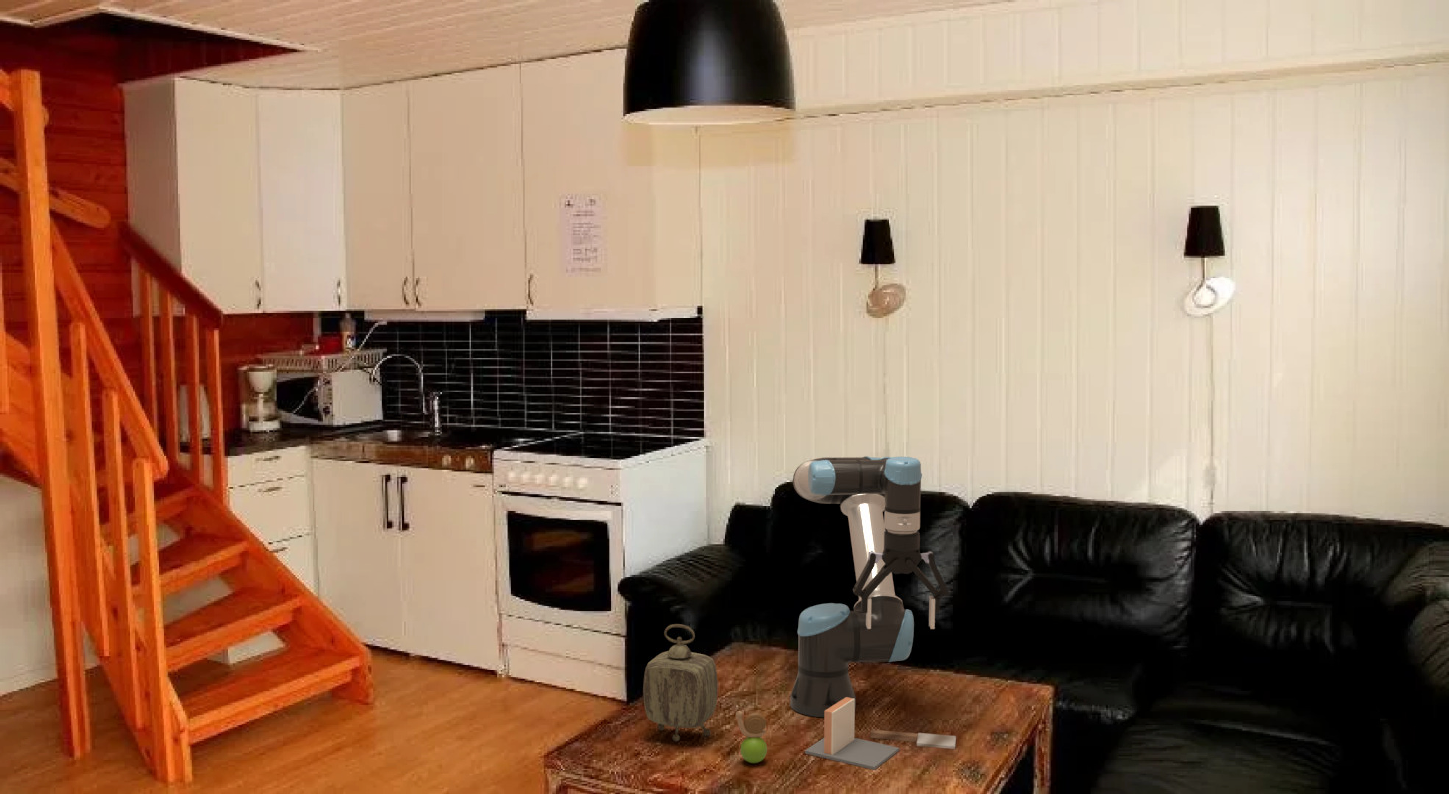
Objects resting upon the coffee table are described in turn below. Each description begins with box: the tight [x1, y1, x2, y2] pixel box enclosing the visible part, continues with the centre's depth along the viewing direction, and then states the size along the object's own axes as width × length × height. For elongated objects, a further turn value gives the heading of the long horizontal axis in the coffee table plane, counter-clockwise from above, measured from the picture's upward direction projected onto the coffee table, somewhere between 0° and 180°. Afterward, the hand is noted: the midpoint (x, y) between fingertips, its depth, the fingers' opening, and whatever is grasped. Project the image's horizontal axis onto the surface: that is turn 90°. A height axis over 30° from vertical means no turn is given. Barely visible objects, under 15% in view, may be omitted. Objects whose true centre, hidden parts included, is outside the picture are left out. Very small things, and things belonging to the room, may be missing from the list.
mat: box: [804, 737, 900, 771], centre depth 252 cm, size 16×12×1 cm
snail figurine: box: [735, 704, 768, 764], centre depth 246 cm, size 5×6×12 cm
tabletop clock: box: [642, 623, 719, 743], centre depth 259 cm, size 14×9×25 cm, turn 71°
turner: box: [869, 729, 957, 750], centre depth 259 cm, size 18×6×1 cm, turn 77°
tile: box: [823, 697, 856, 755], centre depth 253 cm, size 2×10×9 cm, turn 148°
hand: (900, 627), depth 259 cm, fingers open, 13 cm apart
